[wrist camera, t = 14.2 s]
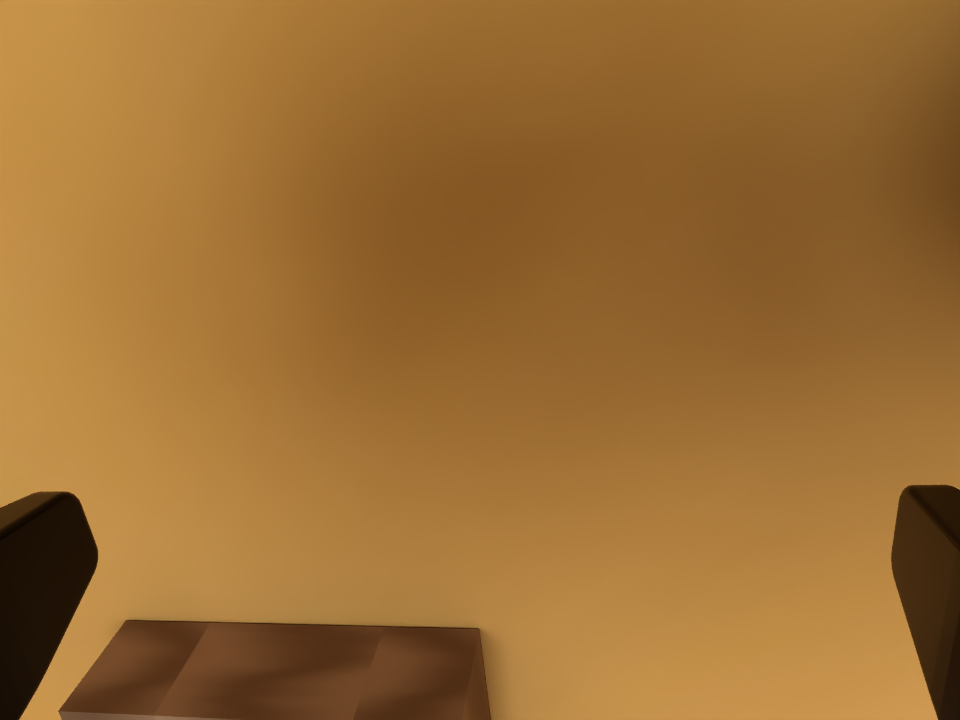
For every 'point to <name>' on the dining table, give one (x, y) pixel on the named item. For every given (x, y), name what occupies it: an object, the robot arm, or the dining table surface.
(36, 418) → the dining table surface
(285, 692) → the pocket block
